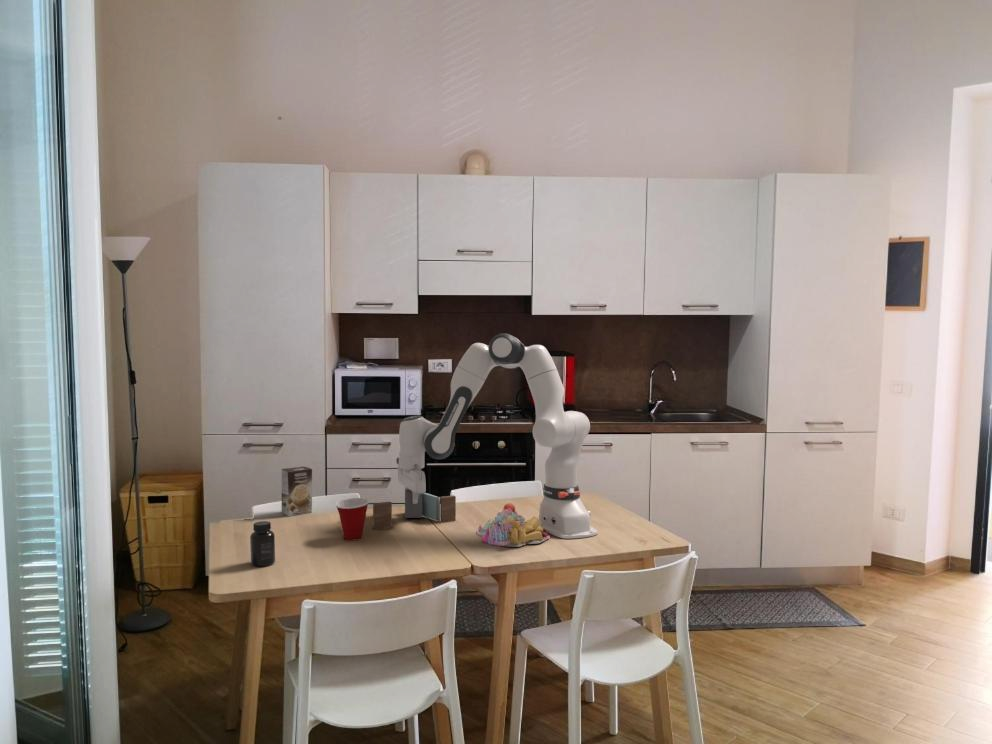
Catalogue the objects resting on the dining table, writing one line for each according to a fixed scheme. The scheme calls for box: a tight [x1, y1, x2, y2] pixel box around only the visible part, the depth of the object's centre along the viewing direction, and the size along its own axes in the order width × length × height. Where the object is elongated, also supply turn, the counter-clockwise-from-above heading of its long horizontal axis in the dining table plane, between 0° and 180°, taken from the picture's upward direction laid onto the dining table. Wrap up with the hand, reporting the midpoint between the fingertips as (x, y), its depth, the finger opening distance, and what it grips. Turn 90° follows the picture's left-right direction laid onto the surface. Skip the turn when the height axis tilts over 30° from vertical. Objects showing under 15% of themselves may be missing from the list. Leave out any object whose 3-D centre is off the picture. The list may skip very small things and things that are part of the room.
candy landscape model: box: [476, 502, 552, 548], centre depth 262 cm, size 25×24×9 cm
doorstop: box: [404, 489, 423, 519], centre depth 282 cm, size 4×6×9 cm, turn 95°
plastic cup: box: [334, 497, 370, 541], centre depth 259 cm, size 11×11×12 cm
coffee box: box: [281, 466, 313, 517], centre depth 288 cm, size 9×6×16 cm
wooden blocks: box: [372, 495, 457, 530], centre depth 275 cm, size 2×29×9 cm, turn 114°
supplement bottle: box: [249, 520, 276, 568], centre depth 233 cm, size 7×7×12 cm
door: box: [422, 492, 441, 522], centre depth 284 cm, size 1×17×8 cm, turn 41°
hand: (411, 501), depth 282 cm, fingers closed on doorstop, 5 cm apart
